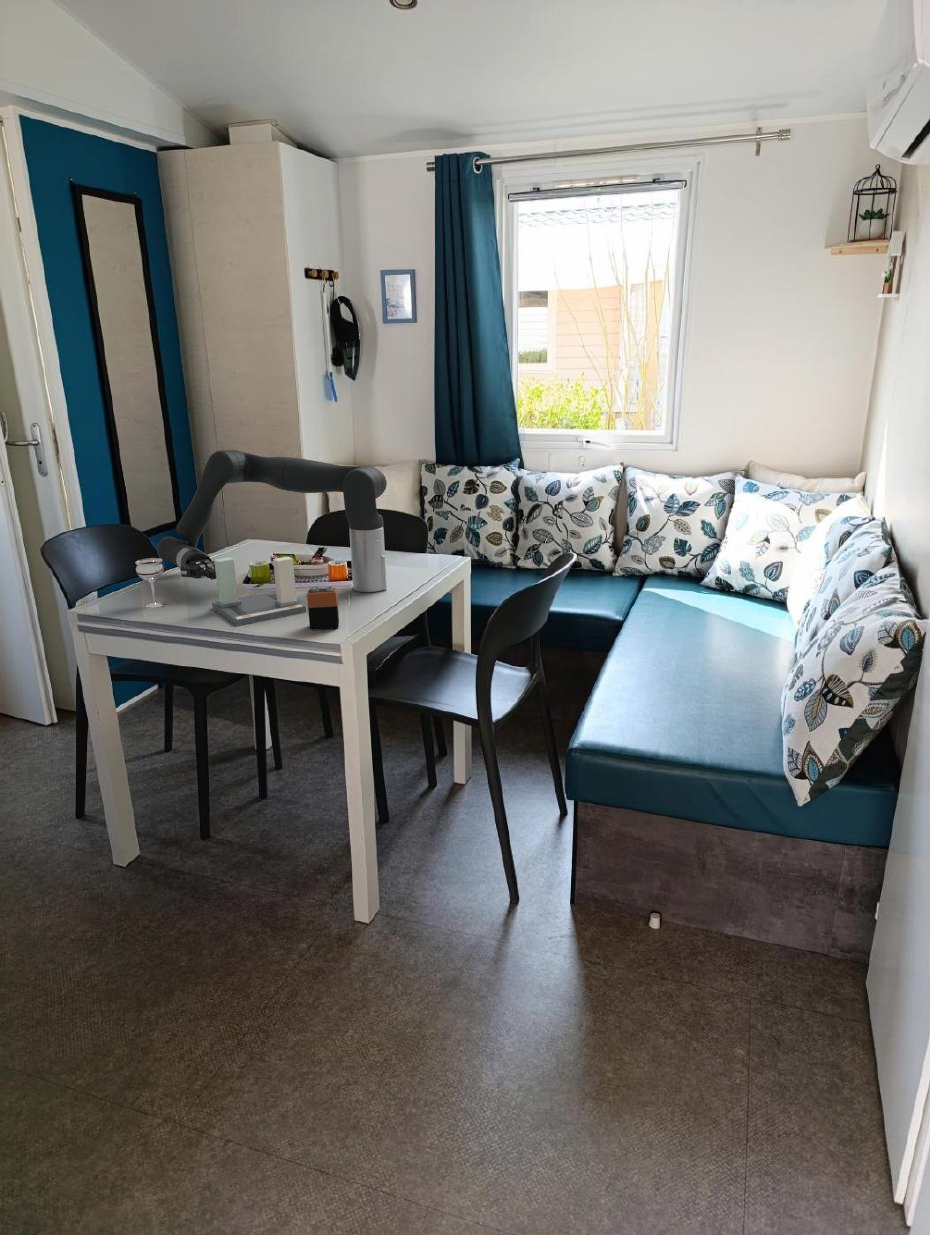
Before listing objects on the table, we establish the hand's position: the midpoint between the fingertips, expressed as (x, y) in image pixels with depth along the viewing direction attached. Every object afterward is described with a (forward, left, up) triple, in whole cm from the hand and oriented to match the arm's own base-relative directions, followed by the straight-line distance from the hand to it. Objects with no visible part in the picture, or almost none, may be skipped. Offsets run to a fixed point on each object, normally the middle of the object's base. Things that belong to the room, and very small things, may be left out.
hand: (214, 575), depth 215 cm
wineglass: (+16, +1, -7) cm, 18 cm away
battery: (-30, +25, -8) cm, 40 cm away
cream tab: (-20, +10, -6) cm, 23 cm away
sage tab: (-5, +8, -6) cm, 11 cm away
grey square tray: (-12, +9, -7) cm, 17 cm away
